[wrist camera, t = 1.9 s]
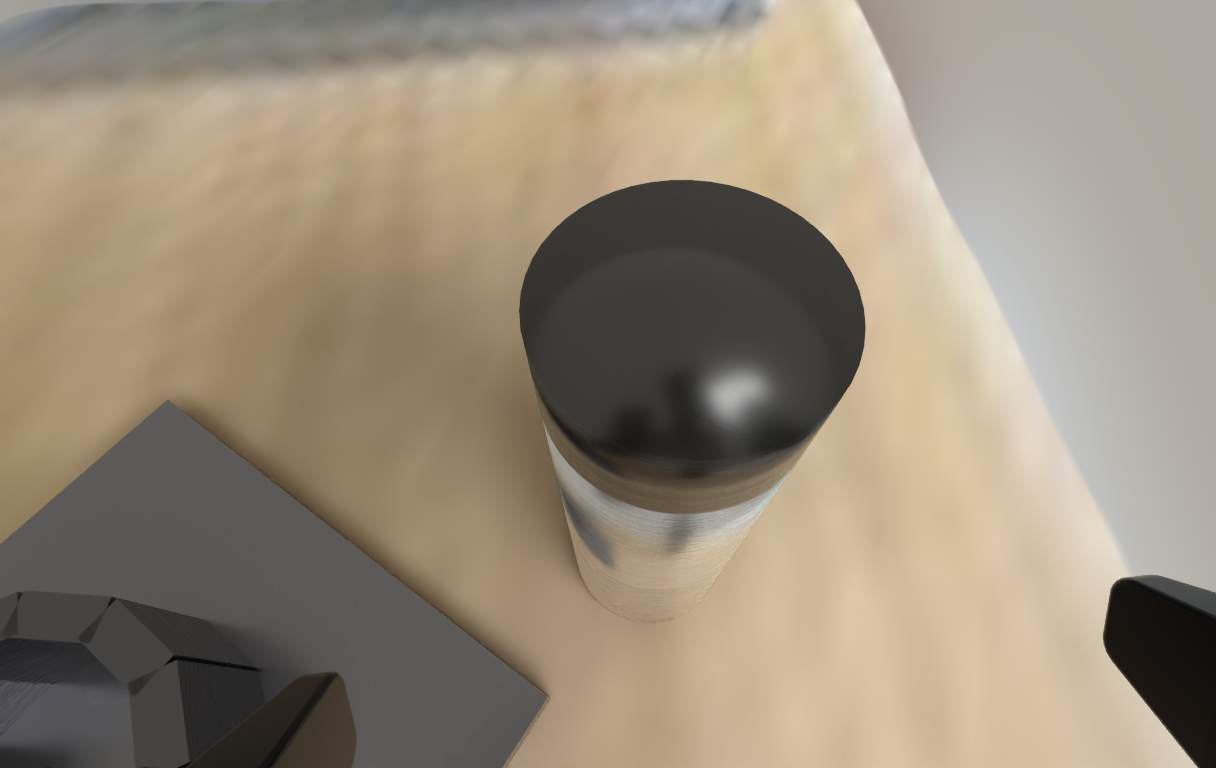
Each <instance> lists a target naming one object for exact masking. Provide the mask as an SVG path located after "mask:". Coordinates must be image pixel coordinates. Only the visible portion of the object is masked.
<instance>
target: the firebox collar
mask: <svg viewBox="0 0 1216 768" xmlns="http://www.w3.org/2000/svg"><path fill="white" fill-rule="evenodd" d="M329 671H335V672H338V673H339V674H340V675H341V676H342V678H343V680H344V683H345V686H346V690H347V694H348V698H349V702H350V706H351V710H352V714H353V718H354V722H355V727H356V735H357V743H356V752H355V757H354V761H353V765H352V768H506V767H507V766H508V764H509V762H510V761H511V759H512V758H513V756H514V755H515V753H516V751H517V750H518V748H519V747H520V745H521V744H522V742H523V740H524V739H525V737H526V736H527V734H528V733H529V731H530V729H531V728H532V726H533V725H534V723H535V722H536V720H537V718H538V717H539V715H540V714H541V712H542V711H543V709H544V708H545V706H546V704H547V703H548V701H549V700H550V698H549V697H548V696H547V695H545V694H544V693H543V692H541V691H540V690H539V689H538V688H536V687H535V686H534V685H533V684H531V683H530V682H529V681H527V680H526V679H525V678H524V677H522V676H521V675H520V674H518V673H517V672H516V671H515V670H513V669H512V668H511V667H510V666H508V665H507V664H506V663H504V662H503V661H502V660H501V659H499V658H498V657H497V656H495V655H494V654H493V653H492V652H490V651H489V650H488V649H487V648H485V647H484V646H483V645H481V644H480V643H479V642H478V641H476V640H475V639H474V638H472V637H471V636H470V635H469V634H467V633H466V632H465V631H464V630H462V629H461V628H460V627H458V626H457V625H456V624H455V623H453V622H452V621H451V620H449V619H448V618H447V617H446V616H444V615H443V614H442V613H441V612H439V611H438V610H437V609H435V608H434V607H433V606H432V605H430V604H429V603H428V602H426V601H425V600H424V599H423V598H421V597H420V596H419V595H418V594H416V593H415V592H414V591H412V590H411V589H410V588H409V587H407V586H406V585H405V584H403V583H402V582H401V581H400V580H398V579H397V578H396V577H395V576H393V575H392V574H391V573H389V572H388V571H387V570H386V569H384V568H383V567H382V566H380V565H379V564H378V563H377V562H375V561H374V560H373V559H372V558H370V557H369V556H368V555H366V554H365V553H364V552H363V551H361V550H360V549H359V548H357V547H356V546H355V545H354V544H352V543H351V542H350V541H349V540H347V539H346V538H345V537H343V536H342V535H341V534H340V533H338V532H337V531H336V530H334V529H333V528H332V527H331V526H329V525H328V524H327V523H326V522H324V521H323V520H322V519H320V518H319V517H318V516H317V515H315V514H314V513H313V512H311V511H310V510H309V509H308V508H306V507H305V506H304V505H303V504H301V503H300V502H299V501H297V500H296V499H295V498H294V497H292V496H291V495H290V494H288V493H287V492H286V491H285V490H283V489H282V488H281V487H280V486H278V485H277V484H276V483H274V482H273V481H272V480H271V479H269V478H268V477H267V476H265V475H264V474H263V473H262V472H260V471H259V470H258V469H257V468H255V467H254V466H253V465H251V464H250V463H249V462H248V461H246V460H245V459H244V458H242V457H241V456H240V455H239V454H237V453H236V452H235V451H234V450H232V449H231V448H230V447H228V446H227V445H226V444H225V443H223V442H222V441H221V440H219V439H218V438H217V437H216V436H214V435H213V434H212V433H211V432H209V431H208V430H207V429H205V428H204V427H203V426H202V425H200V424H199V423H198V422H196V421H195V420H194V419H193V418H191V417H190V416H189V415H188V414H186V413H185V412H184V411H182V410H181V409H180V408H178V407H177V406H176V405H174V404H173V403H171V402H170V401H169V400H167V401H166V402H165V403H163V404H162V405H161V406H160V407H159V408H158V409H156V410H155V411H154V412H153V413H152V414H151V415H150V416H148V417H147V418H146V419H145V420H144V421H143V422H141V423H140V424H139V425H138V426H137V427H136V428H135V429H133V430H132V431H131V432H130V433H129V434H128V435H126V436H125V437H124V438H123V439H122V440H121V441H120V442H118V443H117V444H116V445H115V446H114V447H113V448H111V449H110V450H109V451H108V452H107V453H106V454H105V455H103V456H102V457H101V458H100V459H99V460H98V461H96V462H95V463H94V464H93V465H92V466H91V467H89V468H88V469H87V470H86V471H85V472H84V473H83V474H81V475H80V476H79V477H78V478H77V479H76V480H74V481H73V482H72V483H71V484H70V485H69V486H68V487H66V488H65V489H64V490H63V491H62V492H61V493H59V494H58V495H57V496H56V497H55V498H54V499H53V500H51V501H50V502H49V503H48V504H47V505H46V506H44V507H43V508H42V509H41V510H40V511H39V512H38V513H36V514H35V515H34V516H33V517H32V518H31V519H29V520H28V521H27V522H26V523H25V524H24V525H22V526H21V527H20V528H19V529H18V530H17V531H16V532H14V533H13V534H12V535H11V536H10V537H9V538H7V539H6V540H5V541H4V542H3V543H2V544H1V545H0V768H186V767H187V766H188V765H189V764H191V763H192V762H193V761H194V760H196V759H197V758H198V757H199V756H201V755H202V754H203V753H204V752H205V751H207V750H208V749H209V748H210V747H212V746H213V745H214V744H215V743H217V742H218V741H219V740H220V739H222V738H223V737H224V736H225V735H227V734H228V733H229V732H230V731H231V730H233V729H234V728H235V727H236V726H238V725H239V724H240V723H241V722H243V721H244V720H245V719H246V718H248V717H249V716H250V715H251V714H252V713H254V712H255V711H256V710H257V709H259V708H260V707H261V706H262V705H264V704H265V703H266V702H267V701H269V700H270V699H271V698H272V697H274V696H275V695H276V694H277V693H278V692H280V691H281V690H282V689H283V688H285V687H286V686H287V685H288V684H290V683H291V682H292V681H293V680H295V679H296V678H298V677H299V676H301V675H305V674H312V673H320V672H329Z"/></svg>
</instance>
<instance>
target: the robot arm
mask: <svg viewBox="0 0 1216 768" xmlns="http://www.w3.org/2000/svg"><path fill="white" fill-rule="evenodd" d="M1103 642H1104V646H1105V649H1106V652H1107V653H1108V655H1109V657H1110V659H1111V660H1112V662H1113V663H1114V664H1115V665H1116V667H1117V668H1118V669H1119V670H1120V672H1121V673H1122V674H1123V675H1124V677H1125V678H1126V679H1127V680H1128V681H1129V683H1130V684H1131V685H1132V686H1133V688H1134V689H1135V690H1136V691H1137V693H1138V694H1139V695H1140V696H1141V698H1142V699H1143V700H1144V701H1145V703H1146V704H1147V705H1148V706H1149V708H1150V709H1151V710H1152V711H1153V713H1154V714H1155V715H1156V716H1157V717H1158V719H1159V720H1160V721H1161V722H1162V724H1163V725H1164V726H1165V727H1166V729H1167V730H1168V731H1169V732H1170V734H1171V735H1172V736H1173V737H1174V739H1175V740H1176V741H1177V742H1178V744H1179V745H1180V746H1181V747H1182V748H1183V750H1184V751H1185V752H1186V753H1187V755H1188V756H1189V757H1190V758H1191V760H1192V761H1193V762H1194V763H1195V765H1196V766H1197V767H1198V768H1216V593H1215V592H1212V591H1209V590H1205V589H1202V588H1199V587H1195V586H1192V585H1189V584H1185V583H1182V582H1178V581H1175V580H1172V579H1169V578H1166V577H1162V576H1158V575H1143V576H1135V577H1126V578H1121V579H1119V580H1117V581H1116V582H1115V583H1114V584H1113V586H1112V588H1111V591H1110V597H1109V603H1108V608H1107V614H1106V620H1105V626H1104V632H1103ZM356 743H357V735H356V727H355V722H354V718H353V714H352V710H351V706H350V702H349V698H348V694H347V690H346V686H345V683H344V680H343V678H342V676H341V675H340V674H339V673H338V672H335V671H329V672H320V673H312V674H305V675H301V676H299V677H298V678H296V679H295V680H293V681H292V682H291V683H290V684H288V685H287V686H286V687H285V688H283V689H282V690H281V691H280V692H278V693H277V694H276V695H275V696H274V697H272V698H271V699H270V700H269V701H267V702H266V703H265V704H264V705H262V706H261V707H260V708H259V709H257V710H256V711H255V712H254V713H252V714H251V715H250V716H249V717H248V718H246V719H245V720H244V721H243V722H241V723H240V724H239V725H238V726H236V727H235V728H234V729H233V730H231V731H230V732H229V733H228V734H227V735H225V736H224V737H223V738H222V739H220V740H219V741H218V742H217V743H215V744H214V745H213V746H212V747H210V748H209V749H208V750H207V751H205V752H204V753H203V754H202V755H201V756H199V757H198V758H197V759H196V760H194V761H193V762H192V763H191V764H189V765H188V766H187V767H186V768H352V765H353V761H354V757H355V752H356Z"/></svg>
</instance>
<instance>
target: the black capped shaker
mask: <svg viewBox="0 0 1216 768" xmlns="http://www.w3.org/2000/svg"><path fill="white" fill-rule="evenodd" d="M519 314H520V328H521V333H522V337H523V341H524V346H525V350H526V354H527V358H528V362H529V366H530V370H531V375H532V379H533V383H534V387H535V391H536V395H537V399H538V403H539V408H540V412H541V416H542V420H543V424H544V428H545V432H546V436H547V441H548V445H549V449H550V453H551V457H552V461H553V465H554V469H555V473H556V478H557V482H558V486H559V490H560V494H561V498H562V502H563V506H564V511H565V515H566V519H567V523H568V527H569V531H570V535H571V539H572V544H573V548H574V552H575V556H576V560H577V564H578V568H579V571H580V574H581V577H582V579H583V581H584V583H585V585H586V587H587V588H588V590H589V591H590V593H591V594H592V595H593V596H594V598H595V599H596V600H597V601H598V602H599V603H600V604H602V605H603V606H604V607H605V608H606V609H608V610H610V611H611V612H613V613H614V614H616V615H618V616H621V617H623V618H625V619H629V620H633V621H638V622H661V621H666V620H670V619H673V618H675V617H678V616H680V615H682V614H684V613H685V612H687V611H689V610H690V609H691V608H693V607H694V606H695V605H696V604H697V603H698V602H699V601H700V600H701V599H702V598H703V597H704V596H705V594H706V593H707V591H708V590H709V588H710V587H711V586H712V584H713V583H714V581H715V580H716V578H717V577H718V575H719V574H720V573H721V571H722V570H723V568H724V567H725V565H726V564H727V562H728V561H729V560H730V558H731V557H732V555H733V554H734V552H735V551H736V549H737V548H738V547H739V545H740V544H741V542H742V541H743V539H744V538H745V536H746V535H747V534H748V532H749V531H750V529H751V528H752V526H753V525H754V524H755V522H756V521H757V519H758V518H759V516H760V515H761V513H762V512H763V511H764V509H765V508H766V506H767V505H768V503H769V502H770V500H771V499H772V498H773V496H774V495H775V493H776V492H777V490H778V489H779V487H780V486H781V485H782V483H783V482H784V480H785V479H786V477H787V476H788V474H789V473H790V472H791V470H792V469H793V467H794V466H795V464H796V463H797V461H798V460H799V459H800V457H801V456H802V454H803V453H804V451H805V450H806V448H807V447H808V446H809V444H810V443H811V441H812V440H813V438H814V437H815V435H816V434H817V433H818V431H819V430H820V428H821V427H822V425H823V424H824V422H825V421H826V420H827V418H828V417H829V415H830V414H831V412H832V411H833V409H834V408H835V407H836V405H837V404H838V402H839V401H840V399H841V398H842V396H843V395H844V393H845V392H846V390H847V389H848V387H849V386H850V384H851V383H852V380H853V378H854V376H855V374H856V371H857V369H858V367H859V364H860V360H861V356H862V352H863V348H864V341H865V316H864V307H863V304H862V300H861V296H860V292H859V289H858V287H857V284H856V282H855V279H854V277H853V275H852V273H851V271H850V269H849V268H848V266H847V264H846V263H845V261H844V259H843V258H842V256H841V255H840V254H839V252H838V251H837V250H836V249H835V247H834V246H833V245H832V244H831V242H830V241H829V240H828V239H827V238H826V237H825V236H824V235H823V234H822V233H821V232H820V231H819V230H818V229H816V228H815V227H814V226H813V225H811V224H810V223H809V222H808V221H806V220H805V219H804V218H802V217H801V216H800V215H798V214H796V213H795V212H793V211H792V210H790V209H788V208H787V207H785V206H783V205H781V204H779V203H777V202H775V201H773V200H771V199H769V198H767V197H764V196H762V195H759V194H756V193H754V192H751V191H748V190H745V189H741V188H738V187H734V186H730V185H725V184H719V183H714V182H706V181H694V180H669V181H659V182H650V183H645V184H640V185H635V186H631V187H628V188H624V189H621V190H618V191H615V192H612V193H610V194H607V195H605V196H603V197H600V198H598V199H596V200H594V201H592V202H590V203H589V204H587V205H585V206H583V207H581V208H580V209H579V210H577V211H576V212H574V213H573V214H572V215H570V216H569V217H567V218H566V219H565V220H564V221H563V222H562V223H561V224H560V225H558V226H557V227H556V228H555V229H554V230H553V231H552V232H551V233H550V235H549V236H548V237H547V238H546V239H545V241H544V242H543V243H542V244H541V246H540V248H539V249H538V251H537V252H536V254H535V256H534V257H533V259H532V261H531V263H530V266H529V268H528V270H527V273H526V275H525V279H524V282H523V286H522V290H521V297H520V308H519Z"/></svg>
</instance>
